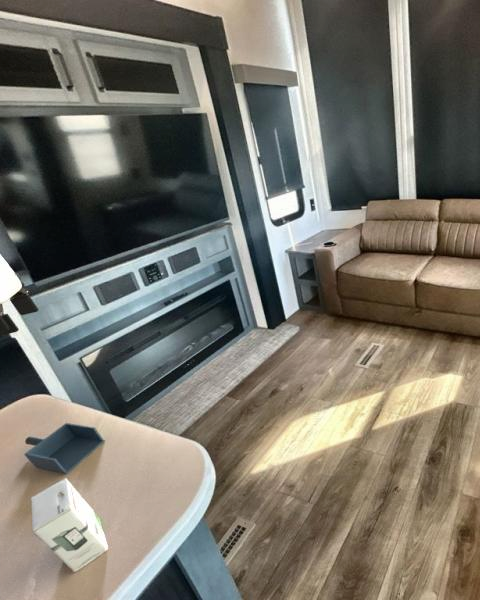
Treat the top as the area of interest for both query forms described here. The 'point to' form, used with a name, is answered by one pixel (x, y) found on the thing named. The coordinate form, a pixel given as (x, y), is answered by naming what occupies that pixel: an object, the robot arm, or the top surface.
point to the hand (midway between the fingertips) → (20, 322)
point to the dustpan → (63, 447)
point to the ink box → (68, 525)
